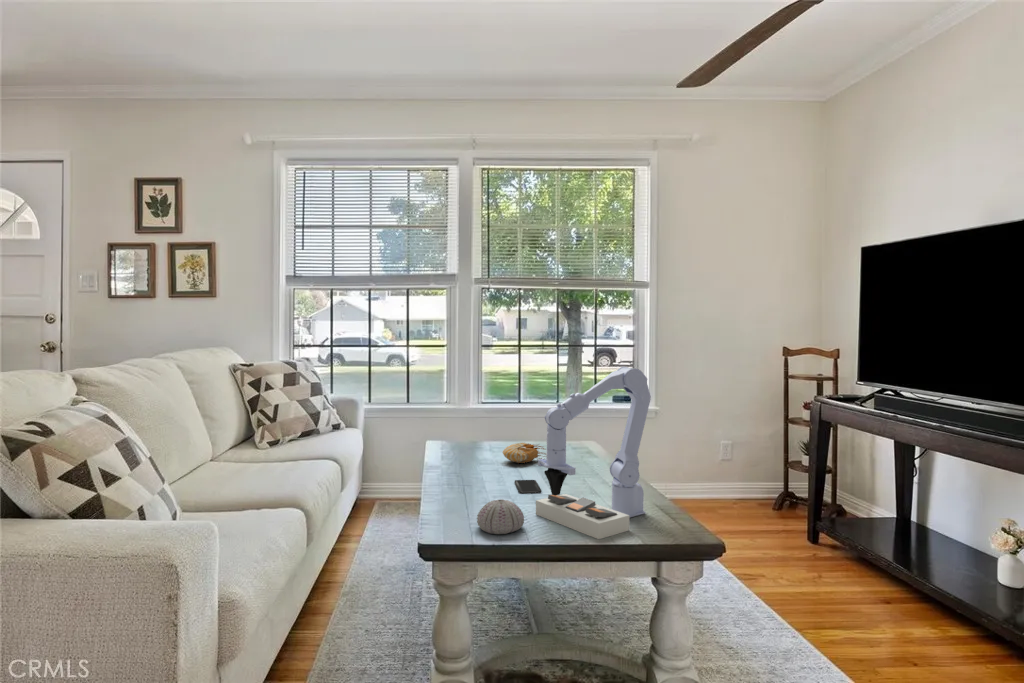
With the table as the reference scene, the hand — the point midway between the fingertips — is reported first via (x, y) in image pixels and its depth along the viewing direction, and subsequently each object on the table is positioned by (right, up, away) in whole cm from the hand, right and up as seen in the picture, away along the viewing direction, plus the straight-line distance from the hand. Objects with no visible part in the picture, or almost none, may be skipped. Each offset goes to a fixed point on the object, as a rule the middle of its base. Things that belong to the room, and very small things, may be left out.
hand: (555, 494), depth 174 cm
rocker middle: (+7, -2, -5) cm, 9 cm away
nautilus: (-7, -6, +72) cm, 73 cm away
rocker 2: (+12, -2, -11) cm, 16 cm away
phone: (-7, -7, +32) cm, 34 cm away
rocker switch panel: (+7, -7, -5) cm, 11 cm away
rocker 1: (+2, -2, +2) cm, 3 cm away
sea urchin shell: (-16, -7, -11) cm, 21 cm away
